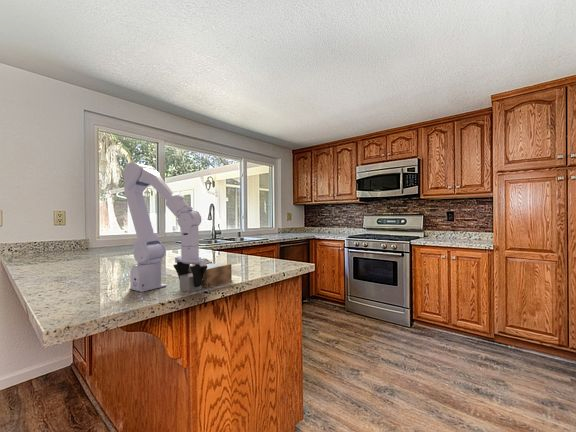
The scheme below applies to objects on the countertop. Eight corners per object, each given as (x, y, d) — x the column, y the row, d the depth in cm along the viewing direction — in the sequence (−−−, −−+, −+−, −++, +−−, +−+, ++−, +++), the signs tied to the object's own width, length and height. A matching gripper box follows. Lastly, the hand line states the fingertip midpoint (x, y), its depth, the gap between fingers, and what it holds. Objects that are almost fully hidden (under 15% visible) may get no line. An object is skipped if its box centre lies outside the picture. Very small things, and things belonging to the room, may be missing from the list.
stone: (189, 292, 95) (188, 277, 95) (179, 290, 98) (179, 275, 98) (201, 288, 99) (201, 274, 99) (192, 287, 102) (191, 273, 102)
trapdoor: (203, 274, 101) (203, 268, 101) (187, 271, 106) (187, 266, 106) (226, 268, 111) (226, 264, 111) (210, 266, 116) (210, 262, 116)
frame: (206, 287, 101) (206, 269, 101) (185, 283, 107) (185, 266, 107) (231, 280, 111) (231, 264, 110) (210, 277, 117) (210, 261, 117)
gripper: (213, 245, 98) (213, 285, 98) (186, 243, 106) (187, 280, 106) (196, 247, 92) (196, 290, 92) (169, 245, 100) (170, 284, 100)
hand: (190, 285), depth 99 cm, fingers open, 7 cm apart
